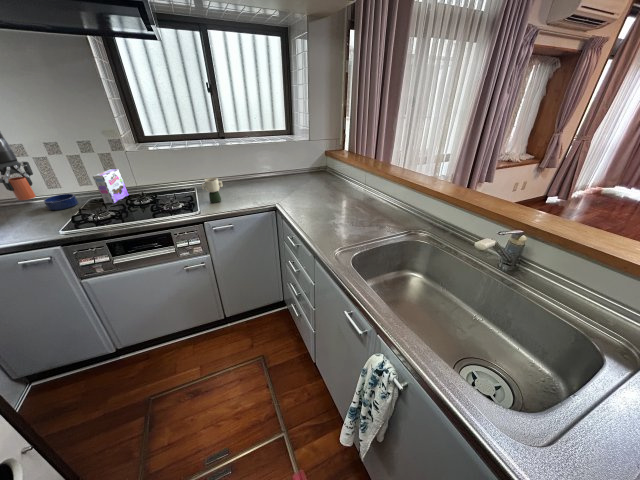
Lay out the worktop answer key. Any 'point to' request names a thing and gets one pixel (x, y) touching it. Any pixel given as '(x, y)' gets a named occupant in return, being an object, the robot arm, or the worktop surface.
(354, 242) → the worktop surface
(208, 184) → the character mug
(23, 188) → the cup
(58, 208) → the bowl
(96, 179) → the candy box
